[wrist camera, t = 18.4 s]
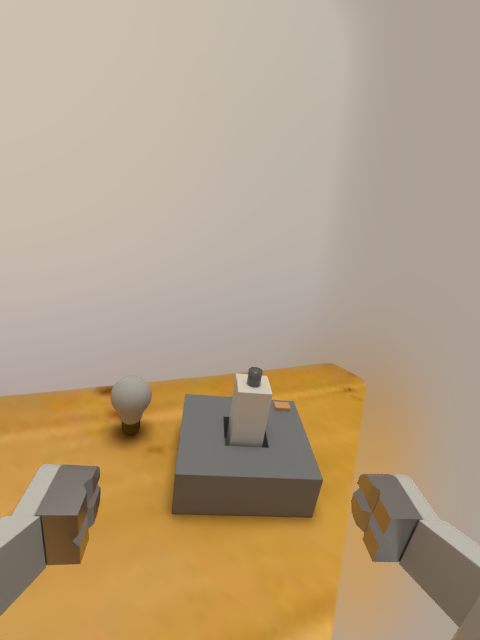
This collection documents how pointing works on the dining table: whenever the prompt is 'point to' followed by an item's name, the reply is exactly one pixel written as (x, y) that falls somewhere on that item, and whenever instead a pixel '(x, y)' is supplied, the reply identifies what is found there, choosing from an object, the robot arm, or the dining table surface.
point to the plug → (249, 409)
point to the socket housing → (243, 464)
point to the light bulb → (131, 401)
